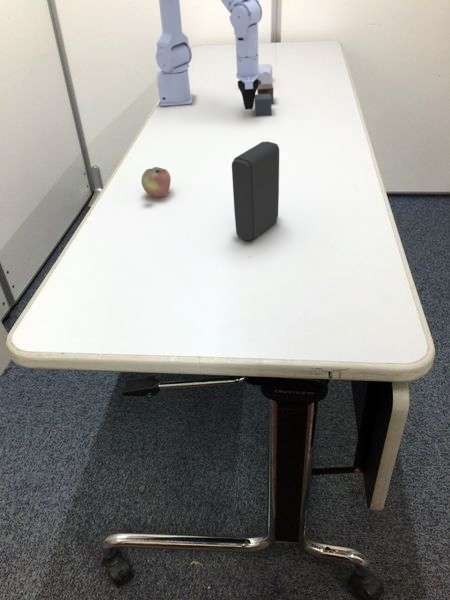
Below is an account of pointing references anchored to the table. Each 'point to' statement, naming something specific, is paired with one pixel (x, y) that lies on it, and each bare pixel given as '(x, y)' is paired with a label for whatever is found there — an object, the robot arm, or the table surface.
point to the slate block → (262, 104)
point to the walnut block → (265, 90)
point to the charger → (265, 73)
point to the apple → (156, 182)
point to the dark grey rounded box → (256, 189)
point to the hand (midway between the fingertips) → (248, 108)
